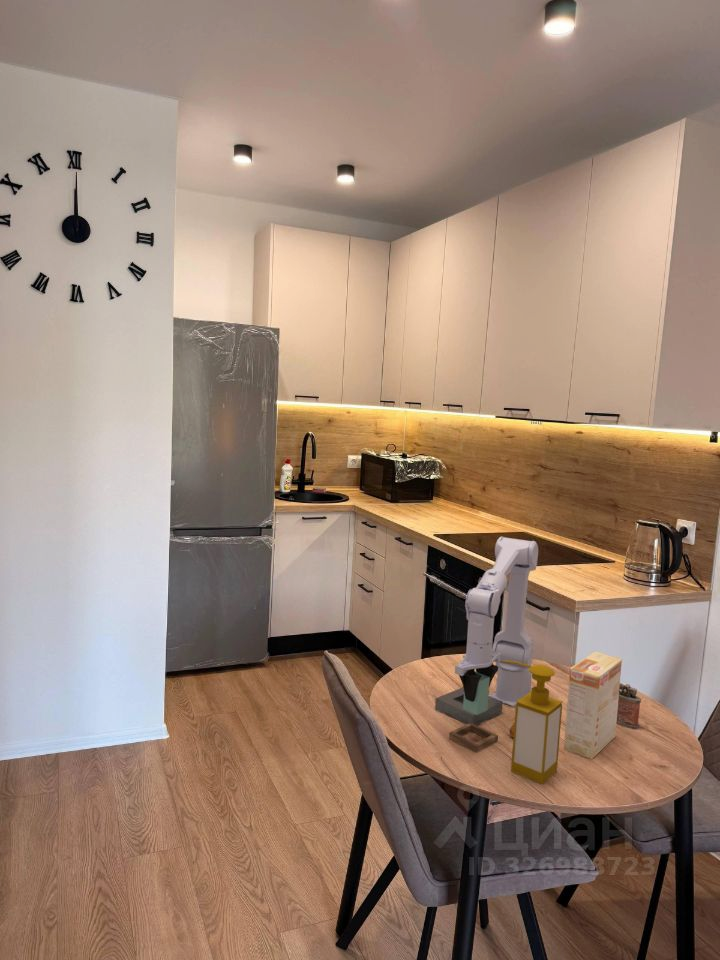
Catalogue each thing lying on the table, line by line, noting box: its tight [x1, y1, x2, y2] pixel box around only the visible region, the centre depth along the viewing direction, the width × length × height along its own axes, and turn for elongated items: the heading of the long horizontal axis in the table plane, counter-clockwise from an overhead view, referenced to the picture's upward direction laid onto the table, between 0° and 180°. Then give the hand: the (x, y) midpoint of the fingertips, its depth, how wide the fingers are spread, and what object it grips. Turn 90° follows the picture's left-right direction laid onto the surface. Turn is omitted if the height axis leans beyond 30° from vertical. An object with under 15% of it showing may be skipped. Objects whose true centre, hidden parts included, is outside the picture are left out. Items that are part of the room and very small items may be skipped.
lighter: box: [616, 682, 642, 730], centre depth 170 cm, size 8×3×10 cm, turn 47°
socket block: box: [434, 686, 504, 726], centre depth 173 cm, size 12×12×3 cm
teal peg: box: [463, 672, 490, 715], centre depth 157 cm, size 4×4×8 cm
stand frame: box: [448, 723, 499, 753], centre depth 158 cm, size 8×8×2 cm
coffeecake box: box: [563, 651, 623, 760], centre depth 158 cm, size 15×7×20 cm, turn 139°
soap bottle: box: [503, 660, 563, 785], centre depth 146 cm, size 7×13×24 cm, turn 50°
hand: (476, 697), depth 157 cm, fingers closed on teal peg, 4 cm apart
